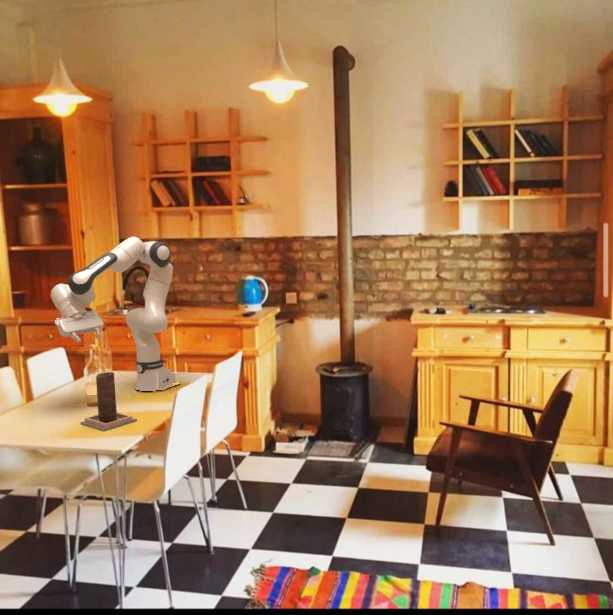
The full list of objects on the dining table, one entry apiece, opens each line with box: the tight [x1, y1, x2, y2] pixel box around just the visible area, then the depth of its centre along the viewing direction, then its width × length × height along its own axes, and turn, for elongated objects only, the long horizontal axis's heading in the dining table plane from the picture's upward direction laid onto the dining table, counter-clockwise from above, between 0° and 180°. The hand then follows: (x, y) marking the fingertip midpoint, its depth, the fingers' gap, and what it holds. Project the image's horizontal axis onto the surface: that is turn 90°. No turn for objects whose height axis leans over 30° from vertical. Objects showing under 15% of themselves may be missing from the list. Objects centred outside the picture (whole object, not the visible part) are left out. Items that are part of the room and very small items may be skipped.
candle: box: [95, 371, 118, 421], centre depth 281 cm, size 8×7×20 cm
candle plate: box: [80, 411, 138, 432], centre depth 283 cm, size 16×16×2 cm
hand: (89, 339), depth 298 cm, fingers open, 8 cm apart
